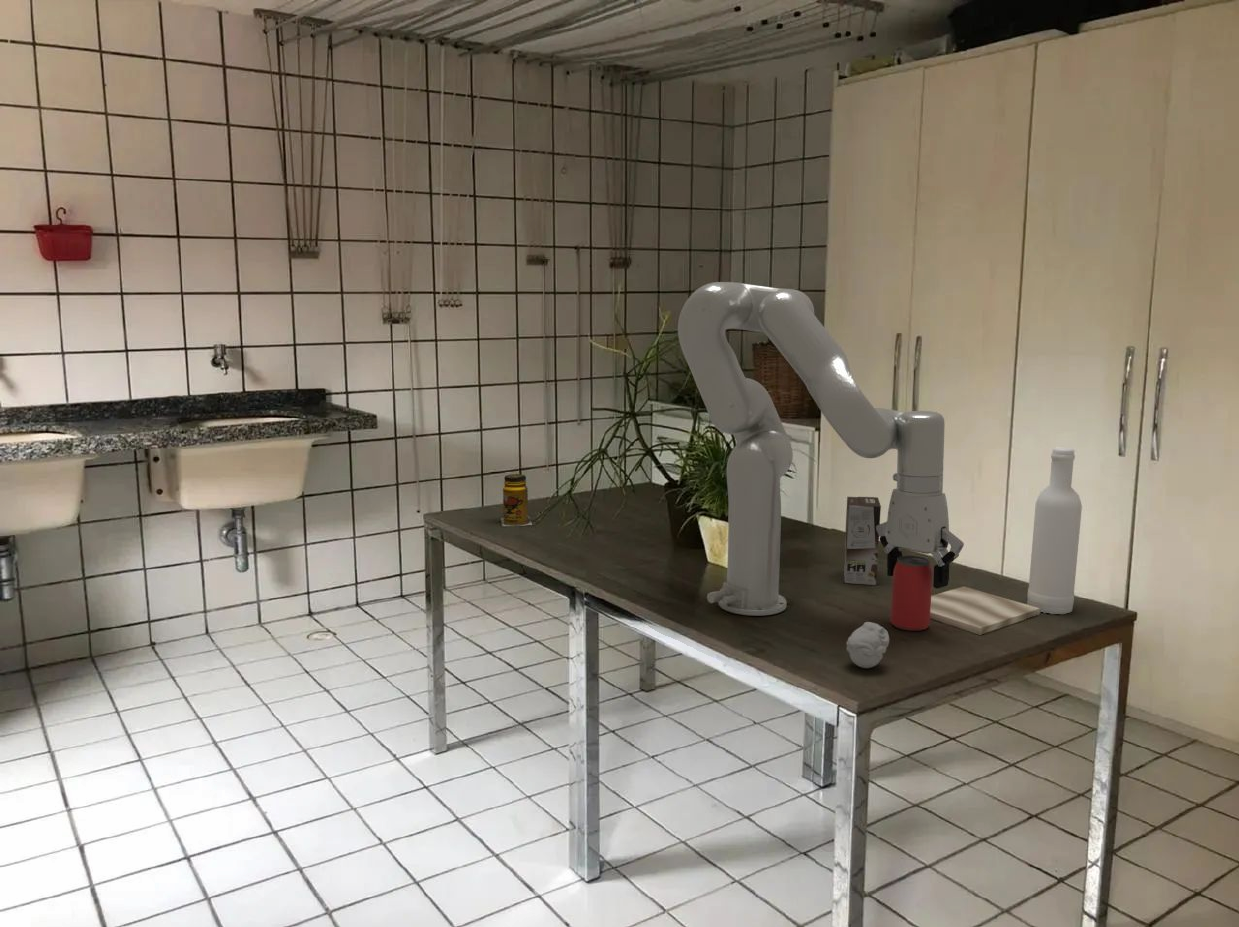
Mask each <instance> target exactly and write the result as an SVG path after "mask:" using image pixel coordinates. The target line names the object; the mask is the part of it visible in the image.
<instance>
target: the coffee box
mask: <svg viewBox="0 0 1239 927" xmlns="http://www.w3.org/2000/svg"><path fill="white" fill-rule="evenodd" d="M845 511H846V515H845V516H846V518H845V535H844V536H845V539H844V540H845V541H844V557H843V558H844V562H843V563H844V564H843V565H844V566H843V575H844V583H845V584H852V585H853V584H856V585H867V586H868V585H869V586H876V585H877V576H878V562H879V560H878V559H879V542H880V536H879V535H878V532H877V529H876V526H877V525H879V524H881V511H882V505H881V503H880V500H879V497H878V496H877V497H876V496H847V498H846V510H845Z"/></svg>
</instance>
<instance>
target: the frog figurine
mask: <svg viewBox="0 0 1239 927" xmlns="http://www.w3.org/2000/svg"><path fill="white" fill-rule="evenodd" d="M889 644H890V636H889V633H888V630H886V629H885V628H884V627H883V626H881V625H880V624H878V623H875V622H870V621H866V622H864V623H863V624H862V625H861V626H860V627H858V628H856V629H855V630H853V632H851V634H850V636H849V637H848V638H847V641H846V651H847V652H848V653H849V656H850V660H851V661H852V663H854V664H855V665H856V666H858V667H859V668H861V669H870V668H874V667H875V666H877V665H878V664H879V663H880V661H881V660H882V659H883V654H885V653H887V652H886V651H887V648H888V646H889Z"/></svg>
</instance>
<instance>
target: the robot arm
mask: <svg viewBox="0 0 1239 927" xmlns="http://www.w3.org/2000/svg"><path fill="white" fill-rule="evenodd" d="M679 313H680V314H679V318H678V323H677V335H678V340H679V341H678V342H679V345H680V348H681V351H682V354H683V356H684V358H685V360H686V363H687V365H688V367H689V370H690V372H691V374H692V376H693V379H694V383H695V384H696V385H695V386H696V387H697V390H698V392H699V394H700V396H701V399H702V401H703V403H704V406H705V408H706V410H707V413H708V415H709V418H710V420H711V423H712V424H713V425H714V427H715V428H716V429H717V430H719V431H720V432H722V433H724V434H725V435H726V434H728V435H733V437H734V439H735V441H736V445H735V446H734V447H733V449H732V450H731V452H730V454H729V456H728V458H727V463H726V485H727V496H728V498H727V499H728V514H727V515H728V520H727V522H728V533H727V534H728V535H727V538H728V539H727V565H726V566H727V569H726V570H727V571H726V573H727V574H726V575H727V576H726V581H725V582H723V583H722V588H720V589H719V590H716V591H711V592H708V593H707V595H706V600H707V601H708V603H710V604H713V603H717V605H718V606H719V607H720V608H721V609H722V610H725V611H727V612H729V613H732V614H736V615H741V616H754V617H756V616H757V617H758V616H761V617H762V616H763V617H764V616H772V615H776V614H779V613H782V612H783V611H785V610H786V608H787V603H788V602H787V599H786V598H785V597H784V596H782V595H781V594H779V587H780V586H779V585H780V583H779V582H780V561H781V560H780V558H781V530H782V529H781V527H782V526H781V525H782V524H781V523H782V499H781V498H782V496H781V478H782V477H784V475H785V474H786V473H787V472H788V471H789V470H790V468H791V466H792V464H793V459H794V458H793V457H794V454H793V453H794V452H793V446H792V444H791V441H790V439H789V436H788V433H787V432H786V430H785V427H784V426H783V422H782V420H781V418H780V415H779V414H778V413H779V412H778V411H777V408H776V407H775V405H774V402H773V400H772V398H771V395H770V394H769V392H768V391H767V389H766V388H765V386H763V385H762V384H761V383H760V382H758V381H756V380H754V379H753V378H748V377H746V376H745V375H744V372H743V371H742V368H741V366H740V364H739V361H738V358H737V355H736V354H735V351H734V349H733V348H732V347H731V344H729V342H728V338H727V336H726V331H727V330H730V329H734V330H735V329H736V330H744V331H749V332H750V331H752V332H758V333H764V334H765V335H766V336H767V337H768V339H769V340H770V342H772V344H773V345H774V346H775V347H776V349H777V350H778V351H779V353H780V354H781V355H782V356H783V358H784V359H785V360H786V361H787V362H788V364H789V365H790V366H791V368H792V369H793V370H794V372H795V373H796V374H797V375H798V377H800V379H801V381H803V383H804V385H805V386H806V389H807V391H808V392H809V394H810V396H811V397H812V398H813V401H814V402H815V404H816V406H817V407H818V409H819V410H820V412H821V413H822V415H823V416H824V418H825V420H826V421H827V422H828V424H829V425H830V427H832V428H833V430H834V432H836V434H837V435H838V436H839V437H840V438H841V440H842V441H843V442H844V443H845V445H846V446H847V447H848V449H850V450H851V451H852V452H853V453H855V455H857V456H859V457H861V458H865V459H876V458H880V457H881V456H883V455H884V454H887V452H888V451H889V450H896V451H897V463H896V464H897V469H896V473H894V474H893V475H892V480H893V481H894V482H895V481H896V488H893V490H892V492H891V495H890V499H889V502H888V503H889V505H888V511H887V518H886V521H884V522H881V523H880V524H879V525H877V526H876V529H877V532H878V535H879V542H880V544H882V547H883V549H884V553H885V554H887V555H886V556H887V557H886V559H887V561H886V565H887V566H886V567H887V570H886V572H887V576H888V577H893V571H894V567H895V565H896V563H897V558H898V557H901V556H903V552H902V551H901V550H900V549H903V550H908V551H912V552H916V553H920V554H924V555H925V554H926V555H927V554H929V555H930V554H931V556H932V557H933V559H934V562H936V564H935V565H934V567H933V581H932V587H933V588H934V589H938V590H939V589H940V588H944V587H947V586H948V585H949V581H950V564H953V562H954V561H955V560H956V559H957V558H959V556H960V553H961V551H962V549H963V548H964V545H965V543H964V542H963V541H962V540H961V539H960V538H959V537H958V536H956V535H955V534H954V533H952V532H951V531H950V525H949V524H950V521H949V509H948V502H947V501H948V500H947V496H946V493H945V492H943V490H944V489H943V483H944V453H945V418H944V416H943V415H942V414H941V413H940V412H937V411H931V410H911V411H910V410H909V411H903V410H902V411H901V410H895V409H888V408H881V407H880V408H879V407H878V408H877V407H874V406H873V405H872V403H871V402H870V401H869V399H868V398H867V397H866V396H865V394H864V393H863V392H862V390H861V389H860V387H859V385H858V384H857V382H856V380H855V378H854V377H853V374H852V372H851V369H850V366H849V362H848V358H847V356H846V354H845V352H844V350H843V349H842V347H840V345H839V344H838V343H837V342H836V340H835V339H834V338H833V336H832V335H831V334H830V332H828V330H827V329H826V328H825V327H824V325H823V324H822V322H820V320H819V319H818V317H817V316H816V315H815V308H814V303H813V302H812V301H811V298H810V297H809V296H808V295H807V294H805V293H804V292H803V291H800V290H797V289H793V288H782V287H781V288H779V287H771V286H763V285H757V284H749V283H743V282H735V281H733V282H732V281H716V282H715V281H714V282H709V283H707V284H704V285H702V286H701V287H699V288H698V289H695V291H693V292H692V294H691V295H690V296H689V298H688V299H687V300H686V301H685V303H684V305H683V306H682V308H681V311H680V312H679ZM949 545H950V550H948V547H949Z"/></svg>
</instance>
